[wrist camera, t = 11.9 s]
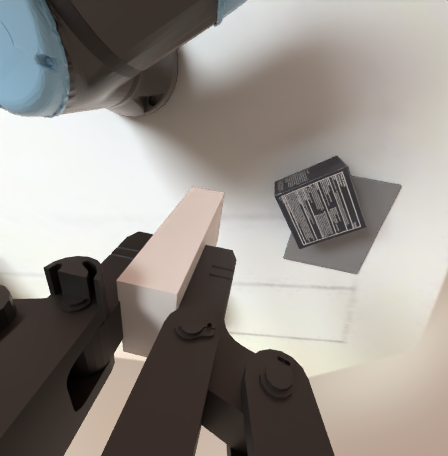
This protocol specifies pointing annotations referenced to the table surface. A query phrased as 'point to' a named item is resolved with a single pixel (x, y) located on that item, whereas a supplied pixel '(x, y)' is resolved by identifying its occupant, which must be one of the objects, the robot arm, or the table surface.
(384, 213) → the mat
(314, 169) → the small box
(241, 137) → the table surface
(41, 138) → the table surface
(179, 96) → the table surface
